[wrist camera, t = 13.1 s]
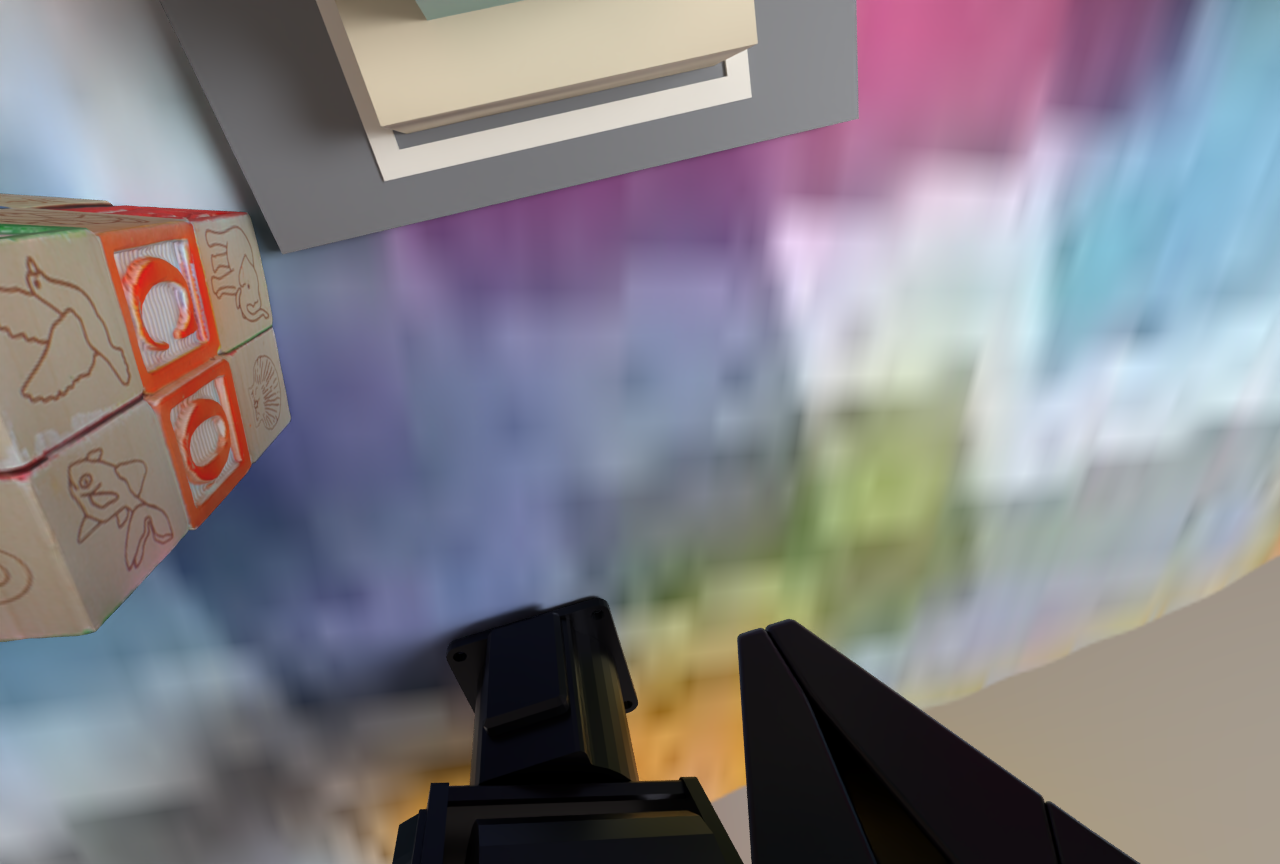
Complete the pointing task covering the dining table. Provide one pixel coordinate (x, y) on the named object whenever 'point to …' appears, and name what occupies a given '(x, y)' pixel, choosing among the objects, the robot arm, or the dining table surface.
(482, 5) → the teal cube
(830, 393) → the dining table surface
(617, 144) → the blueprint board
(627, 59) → the maple slab
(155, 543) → the stack of blocks
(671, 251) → the dining table surface
